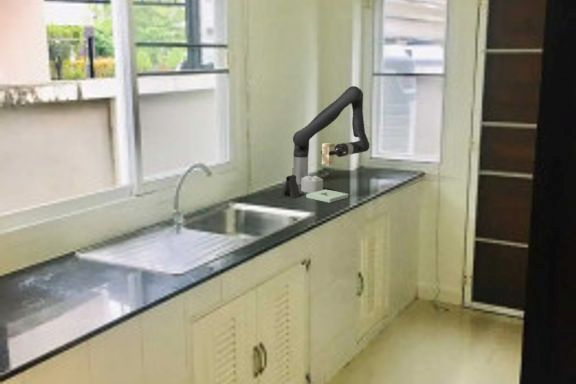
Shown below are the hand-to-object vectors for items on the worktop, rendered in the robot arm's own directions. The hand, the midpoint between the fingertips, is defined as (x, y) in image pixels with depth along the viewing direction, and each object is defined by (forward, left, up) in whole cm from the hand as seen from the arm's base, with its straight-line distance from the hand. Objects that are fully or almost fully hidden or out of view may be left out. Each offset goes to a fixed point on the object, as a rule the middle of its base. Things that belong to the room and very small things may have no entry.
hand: (325, 153), depth 336 cm
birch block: (0, +3, -7) cm, 7 cm away
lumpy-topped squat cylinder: (-18, +10, -26) cm, 33 cm away
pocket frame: (0, +3, -26) cm, 26 cm away
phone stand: (-17, -9, -26) cm, 33 cm away
